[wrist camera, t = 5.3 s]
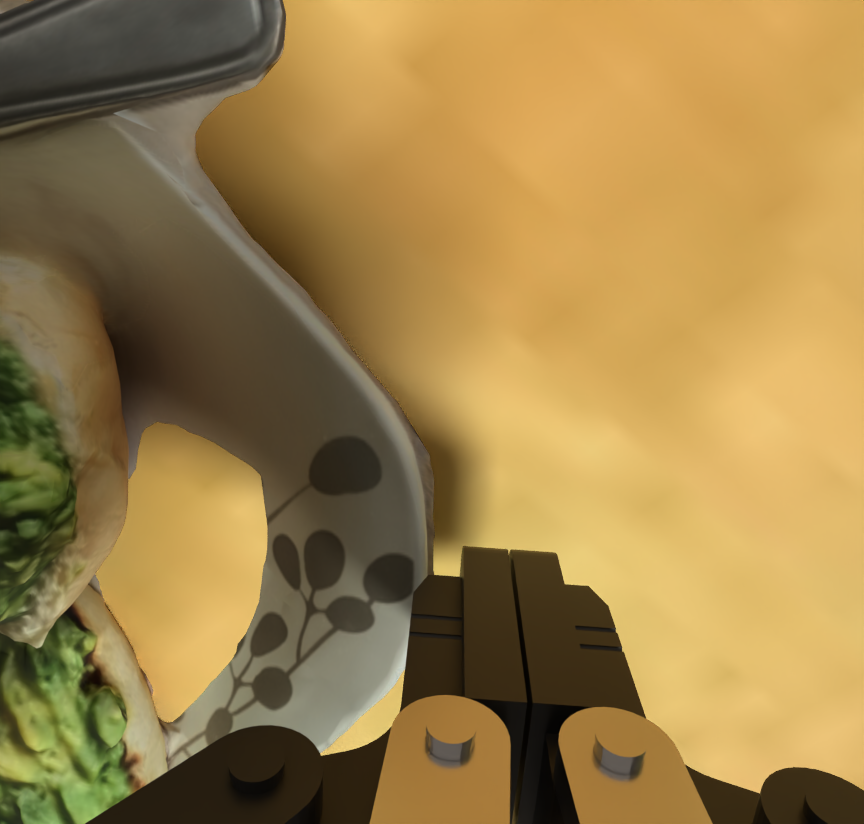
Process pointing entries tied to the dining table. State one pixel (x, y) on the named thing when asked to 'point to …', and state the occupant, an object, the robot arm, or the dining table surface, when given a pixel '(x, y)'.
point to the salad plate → (171, 408)
